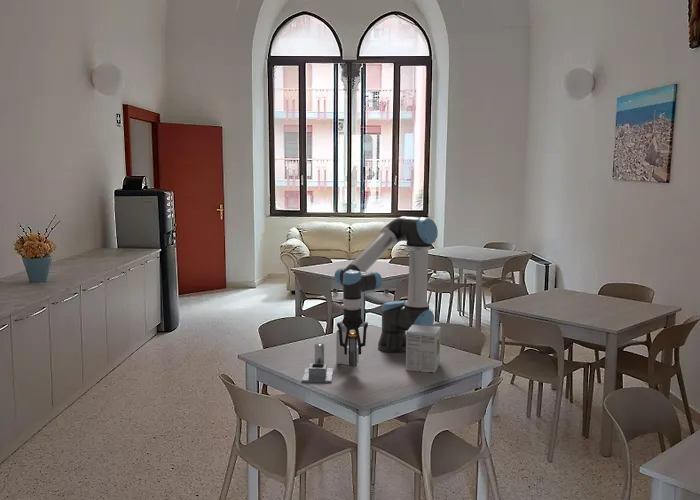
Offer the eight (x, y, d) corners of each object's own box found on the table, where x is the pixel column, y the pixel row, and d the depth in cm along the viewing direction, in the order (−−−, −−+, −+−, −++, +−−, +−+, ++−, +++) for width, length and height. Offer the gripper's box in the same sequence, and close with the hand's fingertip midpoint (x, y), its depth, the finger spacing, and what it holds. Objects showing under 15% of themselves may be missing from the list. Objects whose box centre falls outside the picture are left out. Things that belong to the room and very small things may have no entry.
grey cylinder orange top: (358, 363, 268) (358, 331, 266) (358, 367, 263) (357, 334, 261) (347, 363, 268) (347, 331, 266) (347, 367, 264) (346, 334, 261)
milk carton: (356, 361, 284) (356, 320, 281) (351, 365, 277) (351, 323, 275) (341, 359, 286) (341, 318, 284) (336, 364, 279) (336, 322, 277)
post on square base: (333, 370, 270) (333, 343, 269) (331, 383, 255) (331, 354, 253) (306, 370, 271) (305, 343, 269) (301, 382, 255) (301, 353, 253)
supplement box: (435, 373, 267) (436, 333, 265) (405, 370, 271) (405, 331, 269) (440, 364, 280) (441, 326, 278) (411, 361, 284) (412, 324, 282)
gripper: (372, 305, 265) (372, 359, 269) (333, 305, 266) (334, 358, 269) (372, 309, 258) (372, 364, 261) (332, 310, 259) (333, 364, 262)
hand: (352, 361), depth 265 cm, fingers closed on grey cylinder orange top, 3 cm apart
